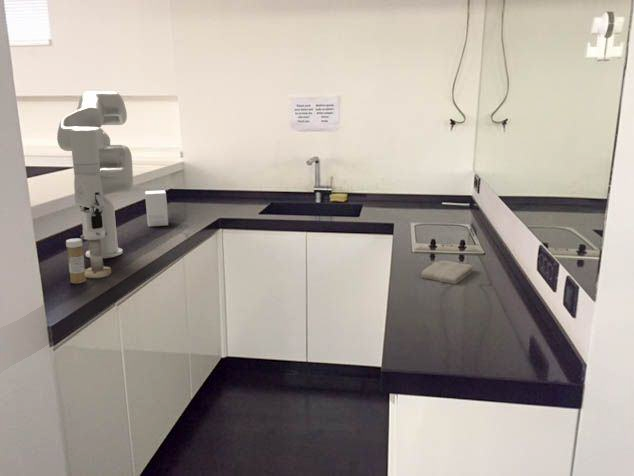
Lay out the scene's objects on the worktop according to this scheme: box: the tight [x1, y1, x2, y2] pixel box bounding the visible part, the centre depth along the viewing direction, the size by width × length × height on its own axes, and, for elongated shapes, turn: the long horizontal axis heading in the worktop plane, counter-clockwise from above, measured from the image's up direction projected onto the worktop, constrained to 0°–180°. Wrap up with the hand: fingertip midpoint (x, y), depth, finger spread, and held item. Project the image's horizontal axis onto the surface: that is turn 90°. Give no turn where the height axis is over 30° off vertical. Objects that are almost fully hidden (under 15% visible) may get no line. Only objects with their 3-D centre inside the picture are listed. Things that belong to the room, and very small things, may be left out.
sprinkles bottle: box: [65, 237, 87, 284], centre depth 164 cm, size 5×5×13 cm
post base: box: [85, 239, 112, 279], centre depth 172 cm, size 8×8×12 cm
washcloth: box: [420, 259, 474, 285], centre depth 175 cm, size 12×18×3 cm, turn 146°
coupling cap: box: [80, 209, 107, 241], centre depth 168 cm, size 9×8×8 cm
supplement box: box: [144, 189, 169, 227], centre depth 243 cm, size 9×9×15 cm
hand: (92, 226), depth 169 cm, fingers closed on coupling cap, 5 cm apart
